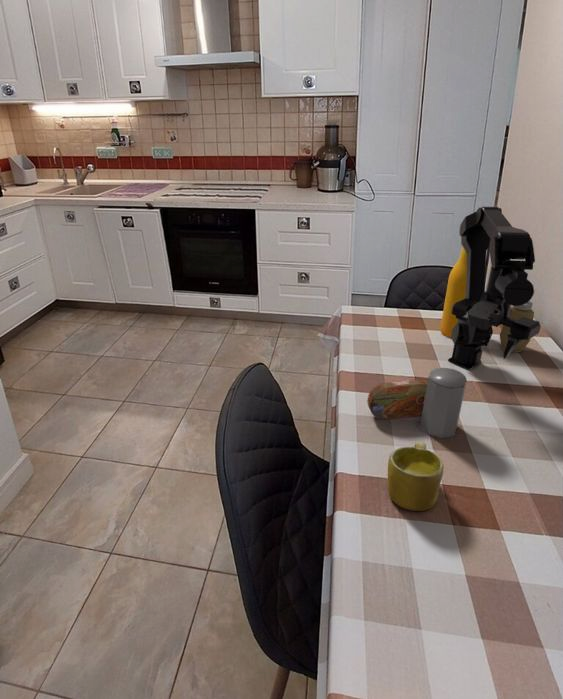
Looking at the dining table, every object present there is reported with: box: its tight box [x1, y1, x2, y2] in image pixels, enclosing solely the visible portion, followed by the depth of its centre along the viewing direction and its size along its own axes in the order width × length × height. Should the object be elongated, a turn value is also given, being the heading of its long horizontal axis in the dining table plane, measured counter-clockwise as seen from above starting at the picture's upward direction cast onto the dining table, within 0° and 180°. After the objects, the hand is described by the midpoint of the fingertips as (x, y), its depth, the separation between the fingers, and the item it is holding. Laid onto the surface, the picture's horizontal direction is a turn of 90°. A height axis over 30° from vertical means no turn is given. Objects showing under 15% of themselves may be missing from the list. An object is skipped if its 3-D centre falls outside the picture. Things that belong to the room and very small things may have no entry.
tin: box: [366, 379, 427, 421], centre depth 106 cm, size 15×3×8 cm, turn 99°
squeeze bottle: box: [499, 300, 535, 353], centre depth 133 cm, size 8×8×18 cm
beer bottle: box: [439, 246, 467, 339], centre depth 139 cm, size 9×9×29 cm
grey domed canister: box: [419, 367, 468, 439], centre depth 101 cm, size 7×7×13 cm
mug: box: [387, 440, 445, 512], centre depth 85 cm, size 12×10×10 cm
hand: (486, 350), depth 112 cm, fingers open, 9 cm apart
